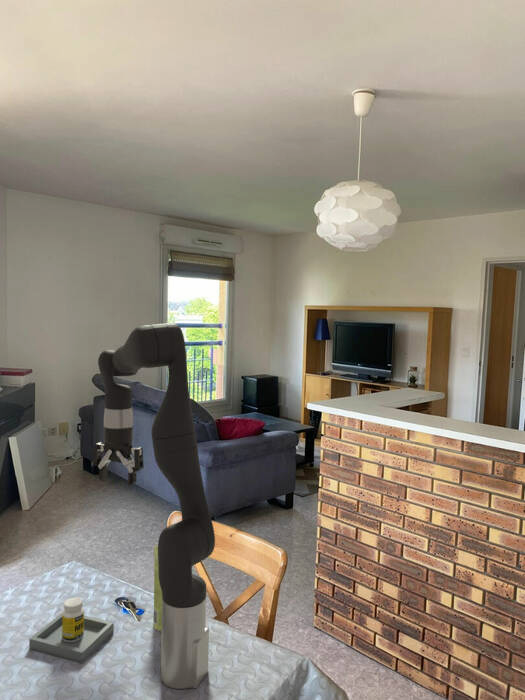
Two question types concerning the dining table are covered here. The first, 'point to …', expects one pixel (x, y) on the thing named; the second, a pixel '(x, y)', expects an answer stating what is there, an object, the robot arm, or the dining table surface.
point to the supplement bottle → (73, 620)
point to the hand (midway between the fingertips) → (117, 483)
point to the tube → (157, 594)
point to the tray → (77, 651)
